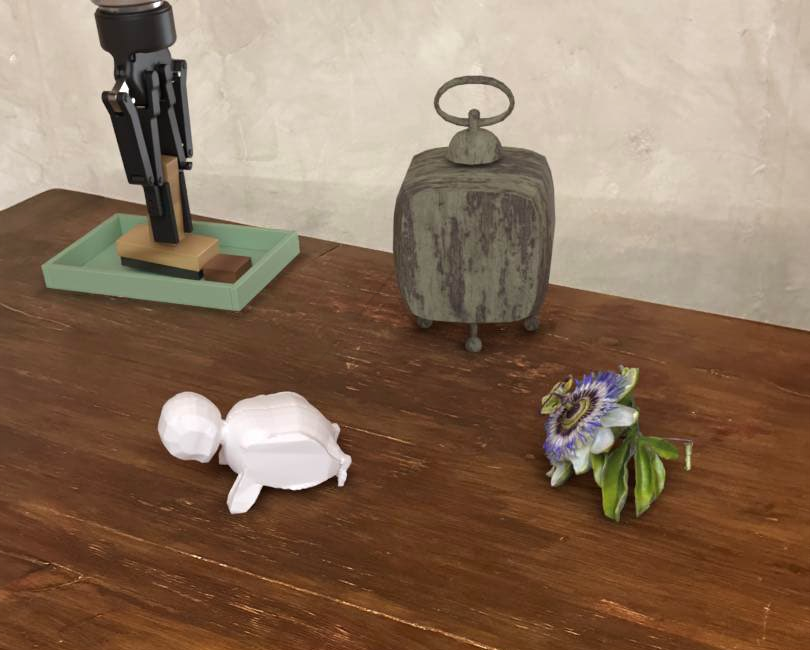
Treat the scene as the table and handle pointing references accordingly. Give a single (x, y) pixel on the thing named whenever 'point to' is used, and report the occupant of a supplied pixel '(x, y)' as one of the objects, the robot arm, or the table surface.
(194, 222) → the tray
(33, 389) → the table surface
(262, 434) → the white turtle figurine
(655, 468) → the passion flower
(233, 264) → the wood chip
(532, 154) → the tabletop clock
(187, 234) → the brush
